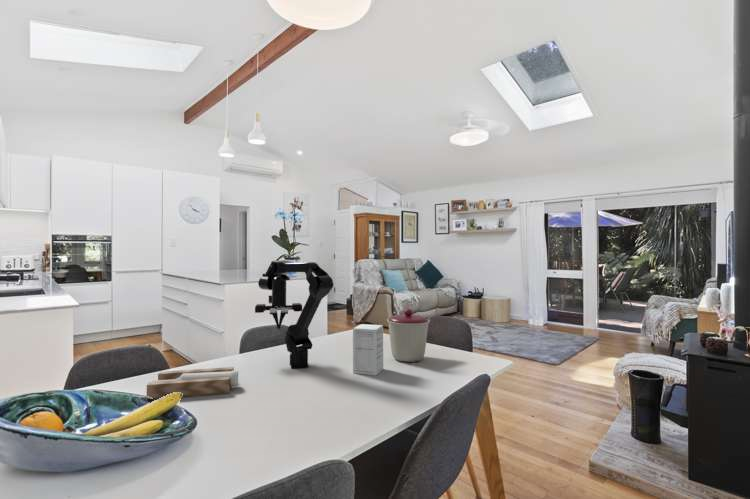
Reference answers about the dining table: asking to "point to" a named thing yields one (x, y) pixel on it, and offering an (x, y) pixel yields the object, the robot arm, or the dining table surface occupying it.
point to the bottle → (209, 376)
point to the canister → (408, 336)
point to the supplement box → (368, 349)
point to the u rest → (189, 384)
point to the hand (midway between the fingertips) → (278, 328)
